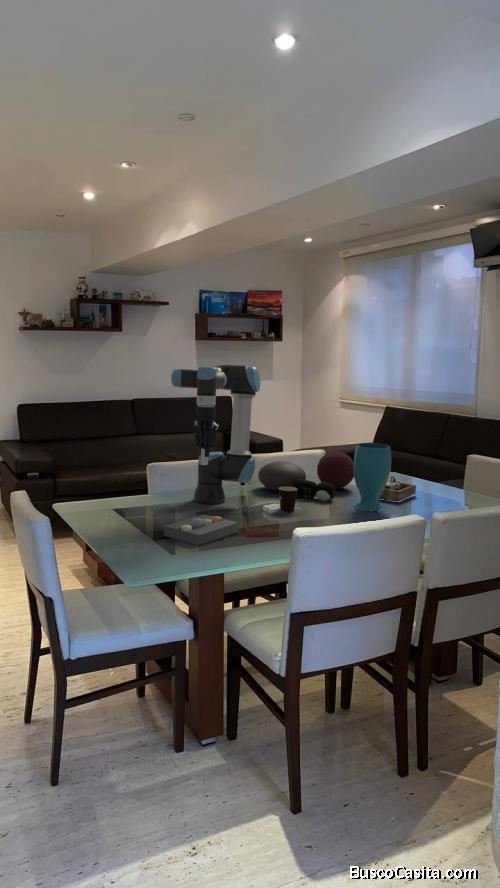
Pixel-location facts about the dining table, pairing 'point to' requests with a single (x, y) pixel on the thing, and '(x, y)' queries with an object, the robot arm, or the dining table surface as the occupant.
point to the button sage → (206, 521)
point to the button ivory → (186, 527)
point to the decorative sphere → (336, 469)
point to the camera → (393, 484)
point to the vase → (371, 473)
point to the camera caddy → (398, 492)
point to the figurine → (314, 490)
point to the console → (201, 530)
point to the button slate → (196, 522)
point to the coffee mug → (287, 498)
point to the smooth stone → (280, 475)
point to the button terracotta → (216, 518)
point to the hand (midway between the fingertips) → (204, 464)
